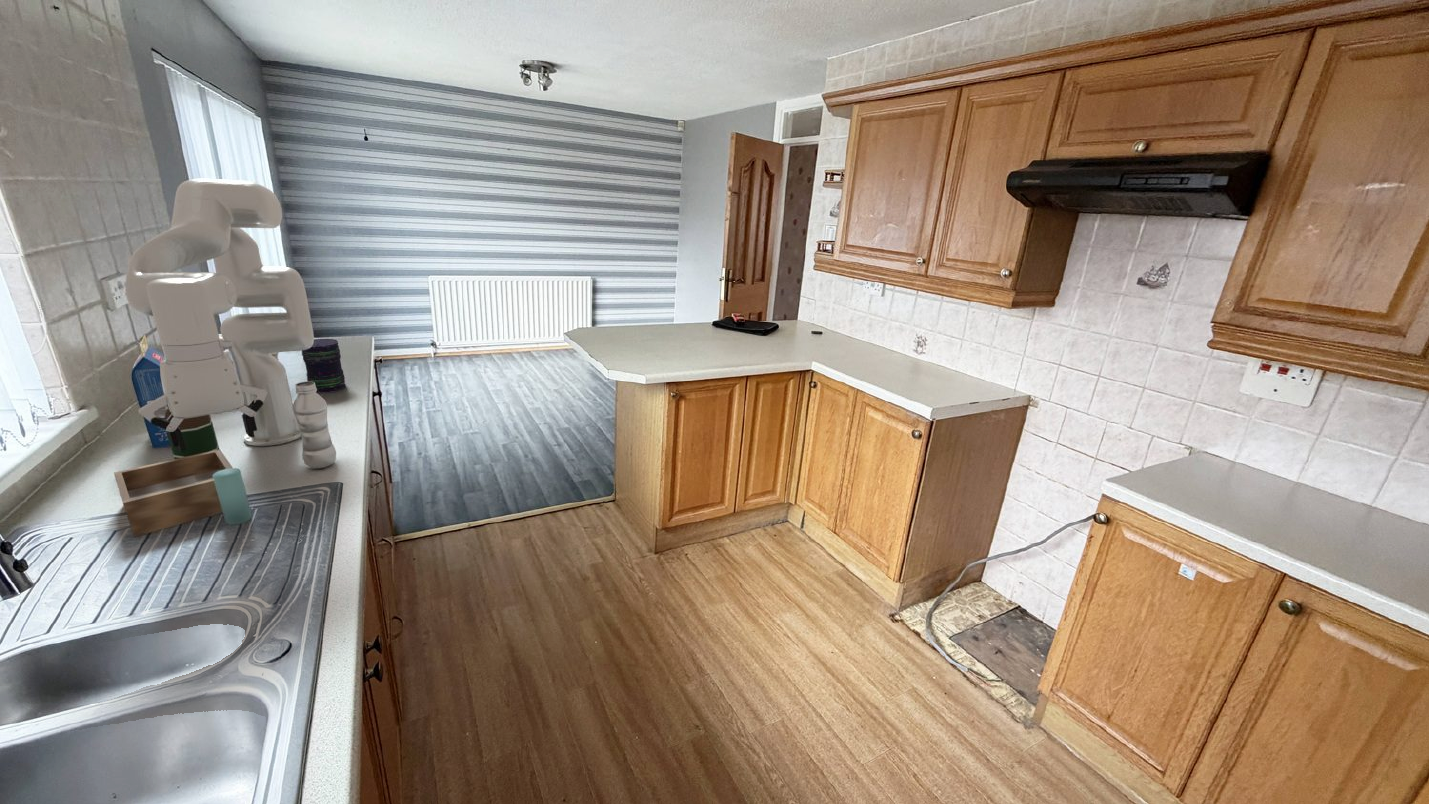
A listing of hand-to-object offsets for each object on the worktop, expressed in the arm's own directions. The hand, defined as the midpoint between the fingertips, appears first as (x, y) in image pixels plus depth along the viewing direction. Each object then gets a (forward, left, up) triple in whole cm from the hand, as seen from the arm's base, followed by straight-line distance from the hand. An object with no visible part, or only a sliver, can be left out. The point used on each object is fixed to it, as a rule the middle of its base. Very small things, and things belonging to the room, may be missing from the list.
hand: (217, 442), depth 103 cm
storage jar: (-36, -73, -17) cm, 83 cm away
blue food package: (+3, -55, -17) cm, 58 cm away
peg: (0, 0, -17) cm, 17 cm away
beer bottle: (+1, -30, -17) cm, 35 cm away
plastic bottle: (-18, -15, -17) cm, 29 cm away
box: (+6, -13, -17) cm, 22 cm away
